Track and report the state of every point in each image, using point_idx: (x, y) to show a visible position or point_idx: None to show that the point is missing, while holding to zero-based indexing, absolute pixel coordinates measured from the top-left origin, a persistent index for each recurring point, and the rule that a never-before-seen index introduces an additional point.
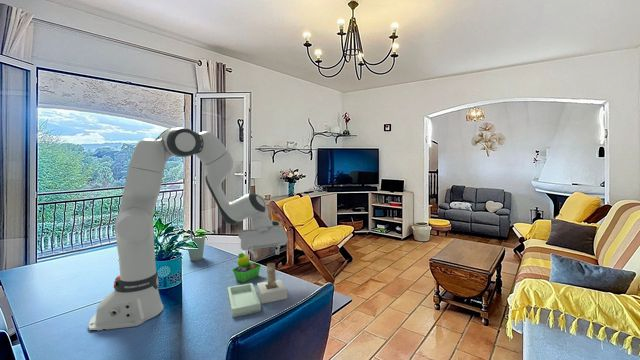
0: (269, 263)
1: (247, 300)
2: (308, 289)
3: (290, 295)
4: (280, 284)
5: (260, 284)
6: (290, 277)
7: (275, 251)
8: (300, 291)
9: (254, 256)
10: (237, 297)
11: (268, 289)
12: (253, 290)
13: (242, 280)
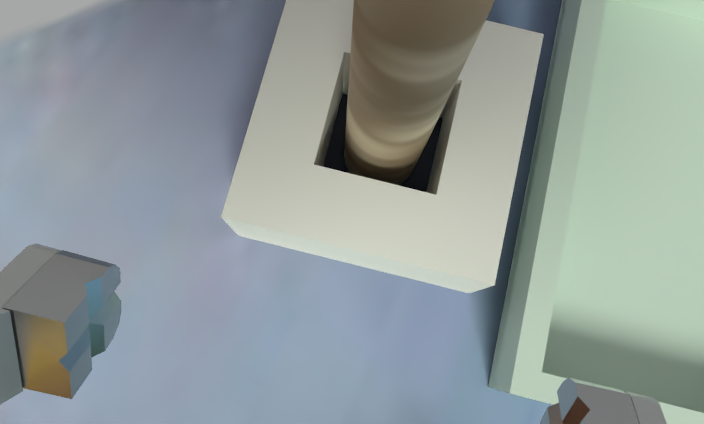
0: (430, 32)
1: (619, 164)
2: (50, 56)
3: (246, 58)
4: (296, 96)
5: (474, 232)
6: (4, 421)
7: (78, 353)
8: (132, 68)
9: (639, 396)
10: (683, 277)
11: None
12: (561, 203)
13: None
